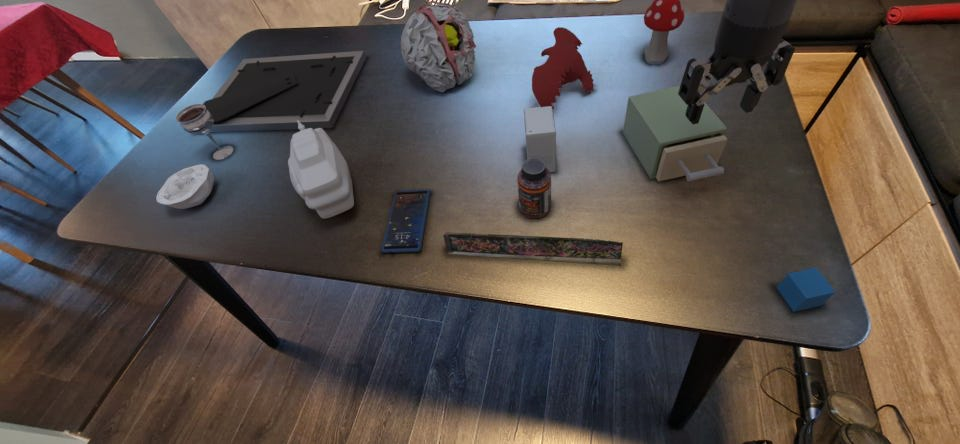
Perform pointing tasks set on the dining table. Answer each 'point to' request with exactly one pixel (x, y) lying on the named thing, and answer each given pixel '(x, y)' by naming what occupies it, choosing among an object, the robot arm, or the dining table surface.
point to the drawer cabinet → (663, 125)
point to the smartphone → (406, 222)
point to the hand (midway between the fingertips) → (718, 115)
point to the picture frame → (285, 92)
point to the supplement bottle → (534, 188)
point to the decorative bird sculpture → (560, 68)
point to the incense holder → (534, 248)
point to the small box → (541, 135)
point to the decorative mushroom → (661, 27)
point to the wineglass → (201, 126)
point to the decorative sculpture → (439, 45)
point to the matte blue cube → (805, 289)
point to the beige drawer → (692, 158)
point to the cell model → (187, 187)
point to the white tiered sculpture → (320, 172)
